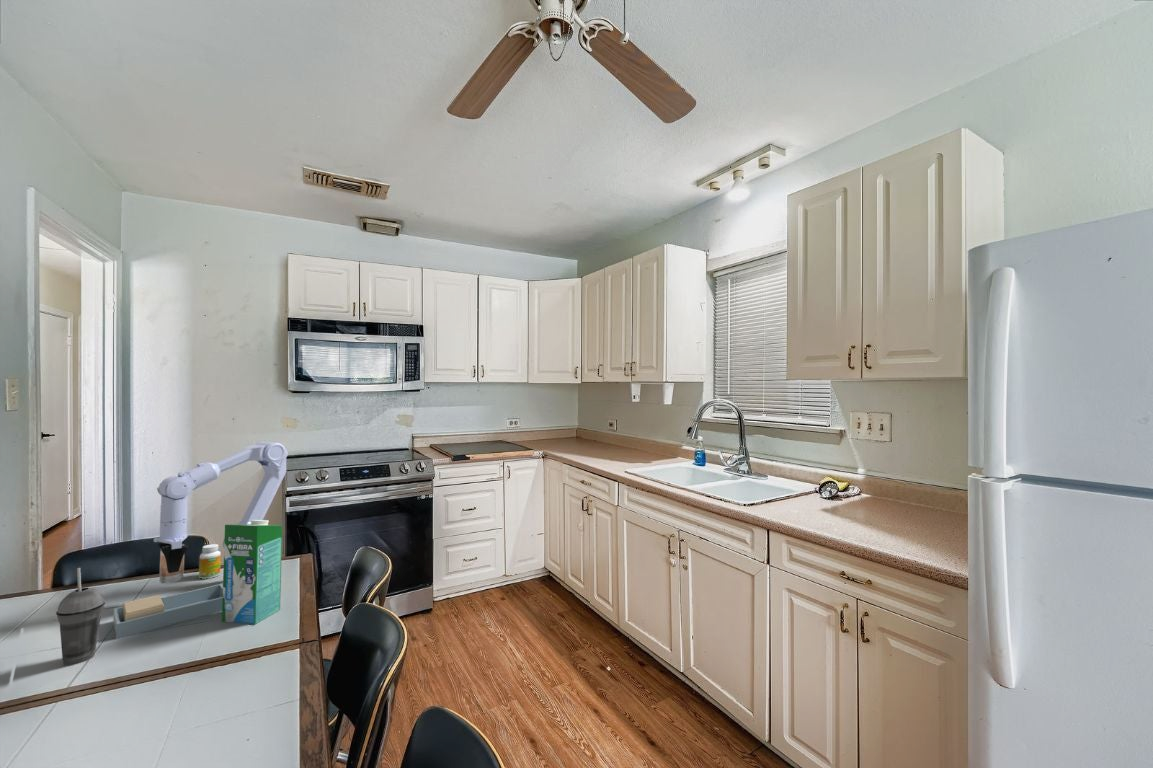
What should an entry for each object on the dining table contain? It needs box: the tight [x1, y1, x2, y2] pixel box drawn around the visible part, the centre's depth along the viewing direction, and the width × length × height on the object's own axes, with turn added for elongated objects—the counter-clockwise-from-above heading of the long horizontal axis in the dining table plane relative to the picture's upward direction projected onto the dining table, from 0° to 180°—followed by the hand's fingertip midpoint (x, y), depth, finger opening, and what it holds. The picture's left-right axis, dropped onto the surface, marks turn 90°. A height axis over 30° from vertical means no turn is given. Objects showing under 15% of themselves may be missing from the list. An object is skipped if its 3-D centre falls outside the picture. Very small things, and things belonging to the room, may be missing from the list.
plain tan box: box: [122, 594, 164, 622], centre depth 117 cm, size 7×9×5 cm
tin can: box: [159, 543, 185, 584], centre depth 129 cm, size 5×5×9 cm
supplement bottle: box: [198, 543, 222, 580], centre depth 150 cm, size 5×5×10 cm
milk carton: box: [221, 519, 283, 626], centre depth 122 cm, size 9×9×25 cm
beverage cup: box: [55, 567, 106, 666], centre depth 101 cm, size 7×7×20 cm
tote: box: [112, 583, 223, 640], centre depth 121 cm, size 22×12×4 cm, turn 137°
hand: (172, 569), depth 129 cm, fingers closed on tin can, 5 cm apart
